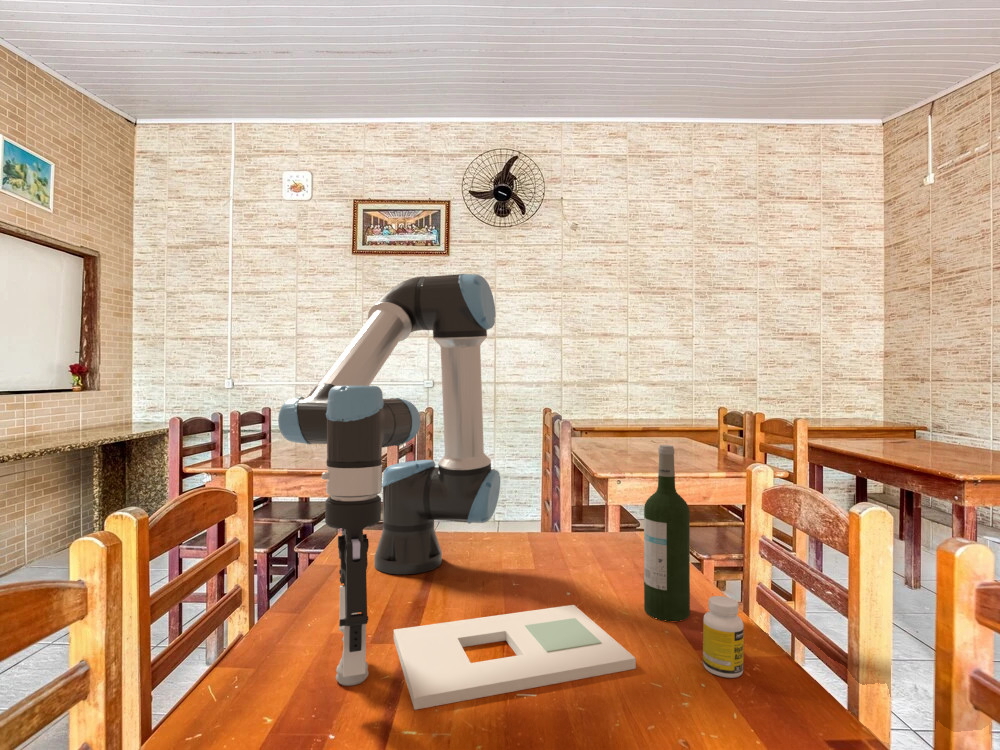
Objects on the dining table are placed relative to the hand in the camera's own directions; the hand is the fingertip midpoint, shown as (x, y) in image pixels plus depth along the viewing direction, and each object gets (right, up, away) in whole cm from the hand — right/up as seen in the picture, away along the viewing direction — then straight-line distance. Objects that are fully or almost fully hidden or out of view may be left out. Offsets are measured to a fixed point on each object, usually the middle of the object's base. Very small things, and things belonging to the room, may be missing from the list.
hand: (351, 649), depth 75 cm
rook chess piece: (0, -4, 0) cm, 4 cm away
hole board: (+22, -4, +8) cm, 24 cm away
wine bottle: (+51, -5, +22) cm, 56 cm away
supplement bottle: (+53, -5, +3) cm, 53 cm away
